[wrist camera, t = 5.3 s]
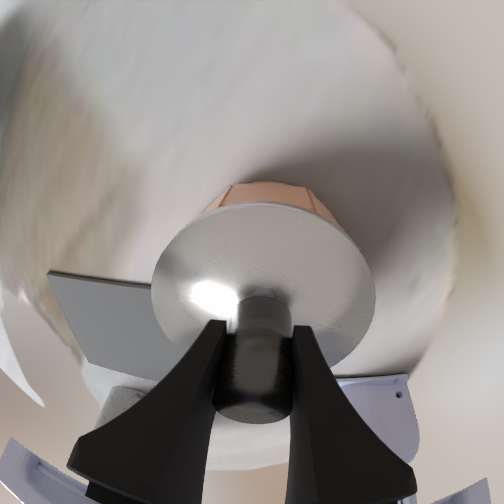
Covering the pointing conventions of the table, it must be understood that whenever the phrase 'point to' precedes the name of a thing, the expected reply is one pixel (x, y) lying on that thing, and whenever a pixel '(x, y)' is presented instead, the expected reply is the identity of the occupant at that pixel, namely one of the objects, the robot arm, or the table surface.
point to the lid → (263, 297)
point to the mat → (115, 325)
